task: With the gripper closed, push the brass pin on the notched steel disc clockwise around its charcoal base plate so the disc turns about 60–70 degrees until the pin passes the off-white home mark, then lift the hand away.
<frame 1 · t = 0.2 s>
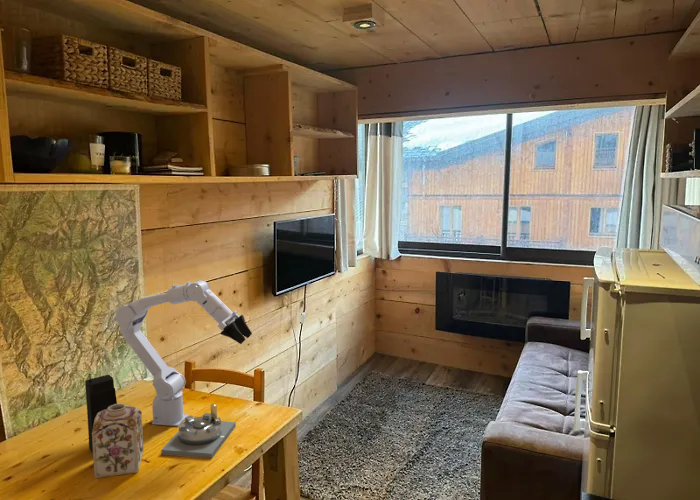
hand: (246, 338, 166), 31 cm above the table, tool tilted 45°, fingers open, 7 cm apart
notched steel disc: (199, 422, 160), point 6 cm above the table, hinge at 0.0°
decorative jar: (120, 465, 147), on the table
portable radio: (105, 448, 156), on the table
base plate: (200, 439, 161), on the table
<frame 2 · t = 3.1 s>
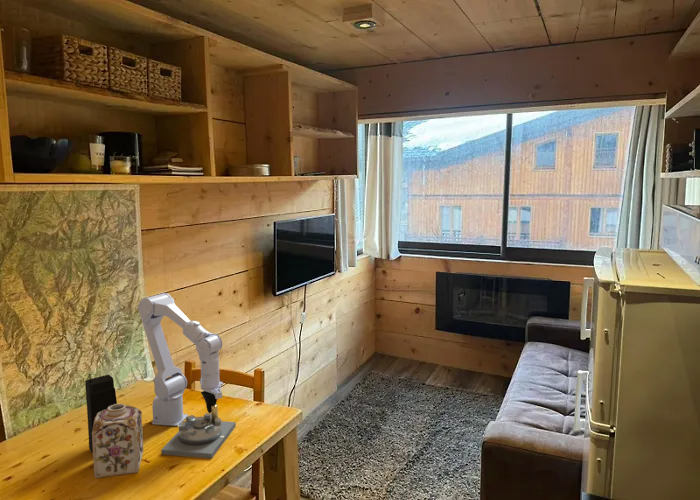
hand: (211, 411, 165), 7 cm above the table, tool pointing down, fingers closed, pressing on notched steel disc
notched steel disc: (199, 422, 160), point 6 cm above the table, hinge at 4.2°, touching gripper
everything else where it was.
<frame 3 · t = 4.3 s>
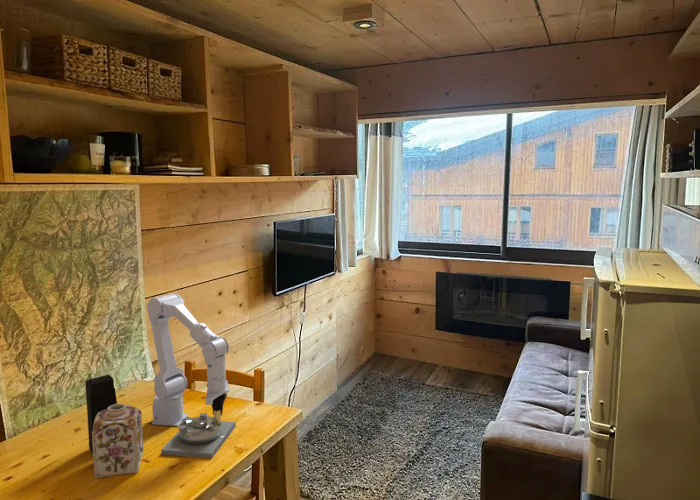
hand: (217, 416, 162), 7 cm above the table, tool pointing down, fingers closed, pressing on notched steel disc
notched steel disc: (199, 422, 160), point 6 cm above the table, hinge at 48.1°, touching gripper
everything else where it was.
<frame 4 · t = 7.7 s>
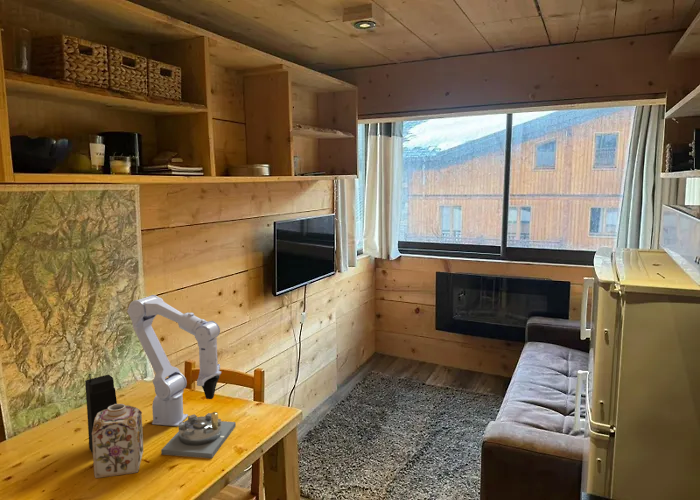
hand: (209, 398, 168), 10 cm above the table, tool pointing down, fingers closed
notched steel disc: (199, 422, 160), point 6 cm above the table, hinge at 70.8°
everything else where it was.
at the end: notched steel disc at +71° (first picture: +0°); decorative jar moved 0.3 cm from its start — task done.
